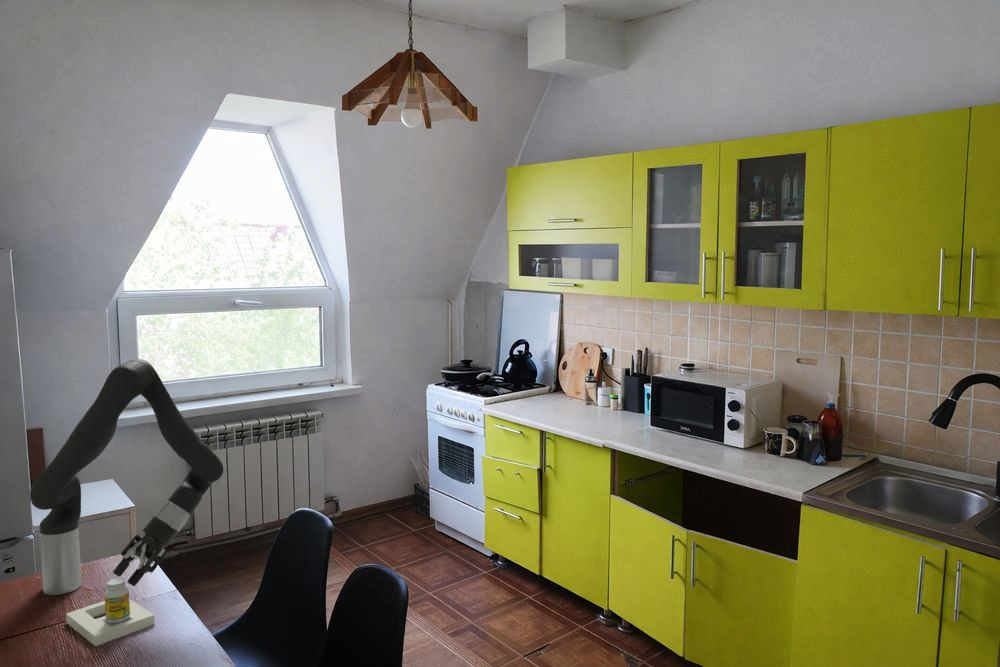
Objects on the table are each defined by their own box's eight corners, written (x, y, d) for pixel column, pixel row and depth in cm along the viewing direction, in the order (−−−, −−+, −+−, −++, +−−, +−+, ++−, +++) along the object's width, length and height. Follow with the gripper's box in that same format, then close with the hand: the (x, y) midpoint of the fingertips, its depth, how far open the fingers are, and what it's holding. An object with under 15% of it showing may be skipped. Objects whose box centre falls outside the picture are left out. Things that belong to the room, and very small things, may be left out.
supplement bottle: (128, 611, 183) (127, 575, 182) (131, 619, 178) (129, 582, 177) (104, 616, 180) (103, 580, 179) (106, 625, 175) (105, 587, 174)
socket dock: (66, 623, 182) (66, 612, 182) (123, 603, 193) (123, 593, 193) (95, 646, 171) (94, 635, 170) (154, 624, 181) (154, 614, 181)
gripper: (144, 509, 189) (99, 565, 182) (169, 521, 180) (123, 580, 172) (164, 524, 194) (122, 578, 186) (190, 536, 185) (147, 594, 177)
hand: (123, 579), depth 179 cm, fingers open, 8 cm apart
